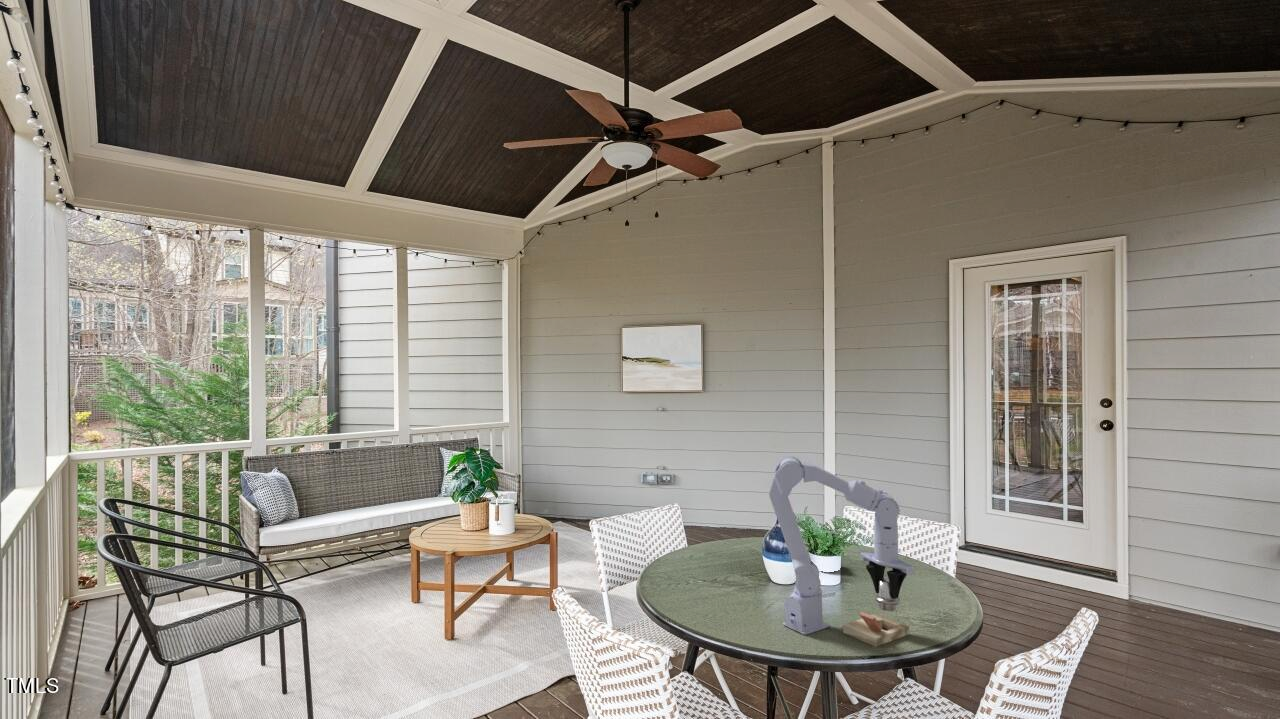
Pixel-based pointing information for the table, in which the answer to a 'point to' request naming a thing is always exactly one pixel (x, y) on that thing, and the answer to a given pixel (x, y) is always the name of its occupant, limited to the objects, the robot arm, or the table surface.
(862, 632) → the hitch block
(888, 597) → the silver knob
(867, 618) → the latch tab
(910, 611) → the table surface
